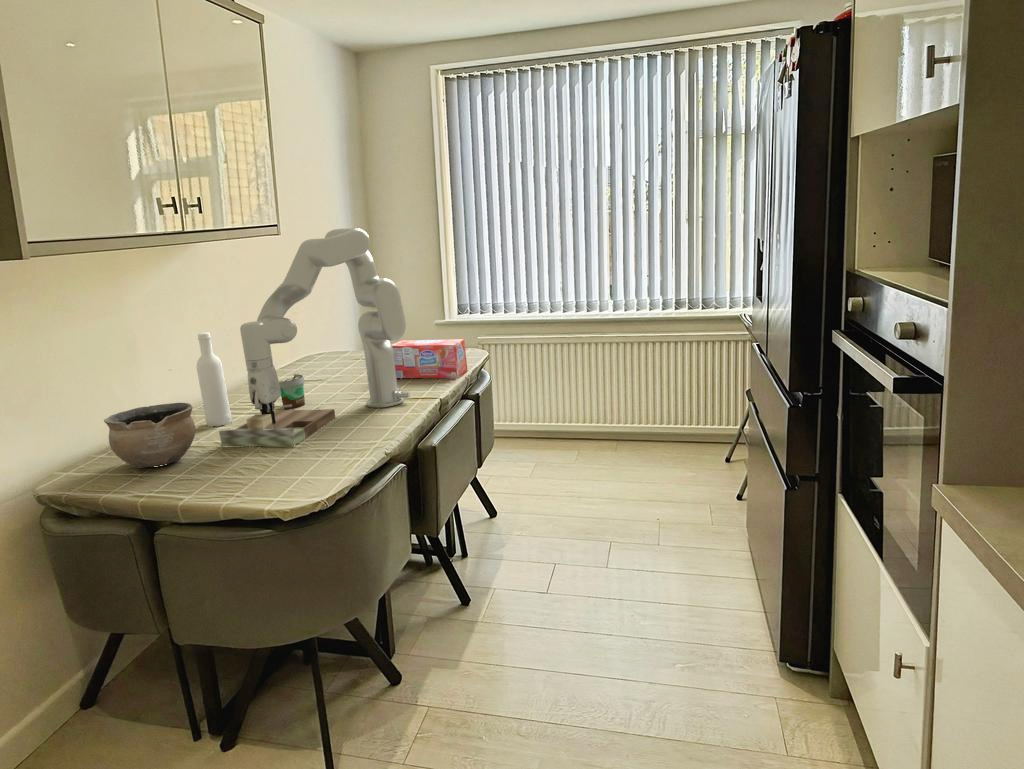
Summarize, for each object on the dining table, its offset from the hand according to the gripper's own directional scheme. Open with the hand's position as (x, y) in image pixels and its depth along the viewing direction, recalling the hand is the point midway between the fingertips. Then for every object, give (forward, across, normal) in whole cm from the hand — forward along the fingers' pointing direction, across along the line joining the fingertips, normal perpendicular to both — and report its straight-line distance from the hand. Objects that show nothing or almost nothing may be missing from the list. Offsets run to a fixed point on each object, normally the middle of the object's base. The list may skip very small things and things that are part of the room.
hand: (269, 424), depth 224 cm
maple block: (+1, -5, 0) cm, 5 cm away
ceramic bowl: (+4, -22, +23) cm, 32 cm away
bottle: (+4, +16, +28) cm, 33 cm away
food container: (+5, +36, +10) cm, 38 cm away
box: (+5, +77, -25) cm, 81 cm away
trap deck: (+4, +6, 0) cm, 7 cm away
